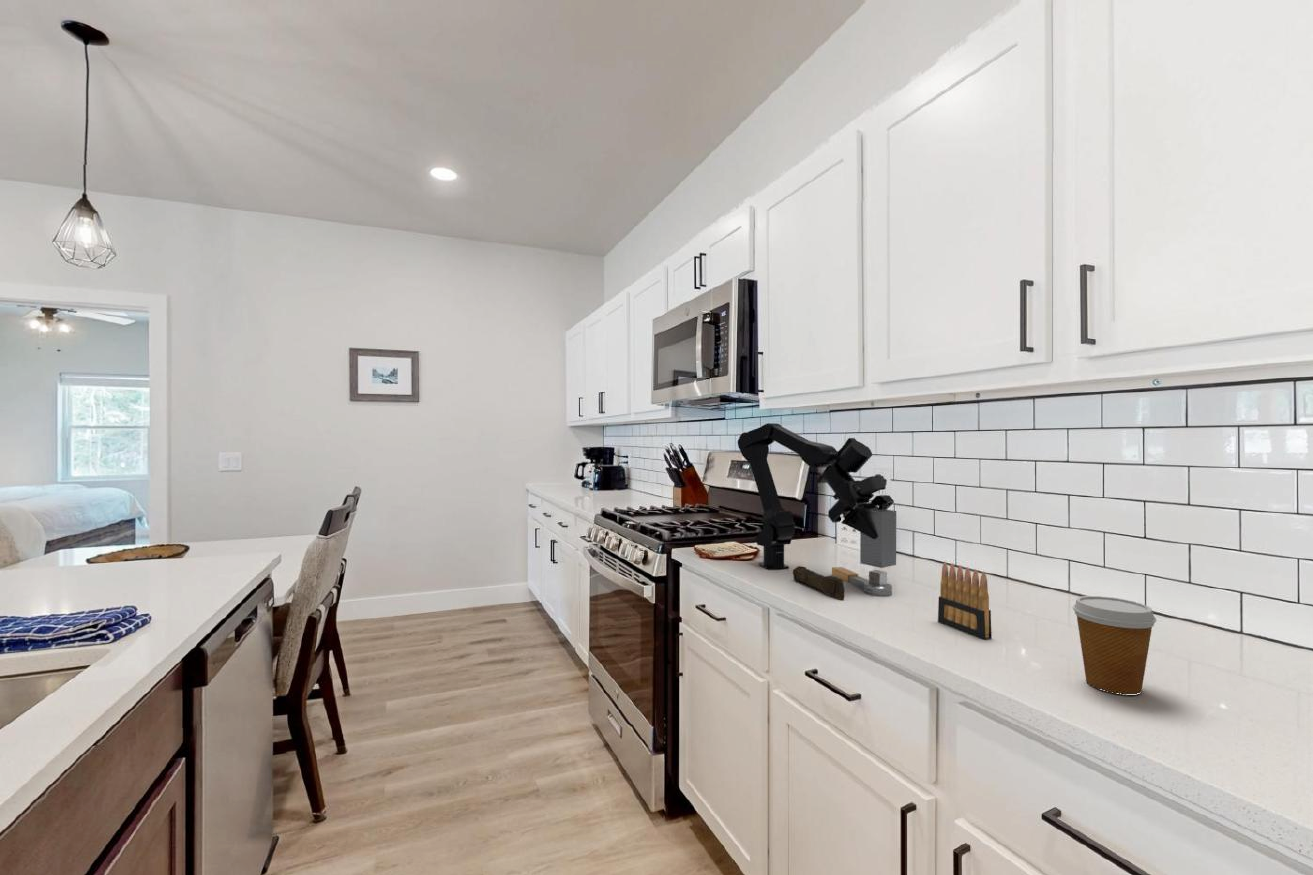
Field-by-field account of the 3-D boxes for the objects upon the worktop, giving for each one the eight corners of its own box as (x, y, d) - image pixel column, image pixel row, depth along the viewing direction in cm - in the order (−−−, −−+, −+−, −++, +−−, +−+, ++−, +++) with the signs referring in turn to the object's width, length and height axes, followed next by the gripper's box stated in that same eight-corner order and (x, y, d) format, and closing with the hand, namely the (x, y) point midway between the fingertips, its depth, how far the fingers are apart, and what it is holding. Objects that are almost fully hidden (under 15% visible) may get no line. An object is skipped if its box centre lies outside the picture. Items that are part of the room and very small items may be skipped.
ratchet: (826, 575, 152) (826, 556, 152) (847, 574, 153) (847, 555, 153) (873, 597, 131) (873, 575, 131) (897, 596, 132) (897, 574, 132)
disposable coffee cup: (1131, 706, 77) (1131, 617, 77) (1058, 679, 86) (1058, 599, 86) (1171, 694, 81) (1171, 609, 81) (1097, 669, 90) (1097, 592, 90)
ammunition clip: (992, 639, 104) (992, 572, 104) (984, 640, 103) (984, 572, 103) (944, 621, 114) (945, 560, 114) (937, 622, 113) (937, 560, 113)
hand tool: (792, 581, 146) (792, 563, 146) (806, 580, 147) (806, 562, 147) (832, 603, 127) (832, 582, 127) (848, 601, 128) (848, 580, 128)
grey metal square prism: (860, 563, 135) (860, 510, 135) (874, 560, 138) (875, 508, 138) (881, 568, 130) (881, 512, 130) (896, 564, 134) (896, 510, 134)
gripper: (838, 464, 132) (881, 518, 123) (887, 462, 143) (929, 511, 134) (811, 495, 139) (849, 549, 130) (859, 491, 149) (898, 540, 140)
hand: (883, 536), depth 133 cm, fingers closed on grey metal square prism, 6 cm apart
